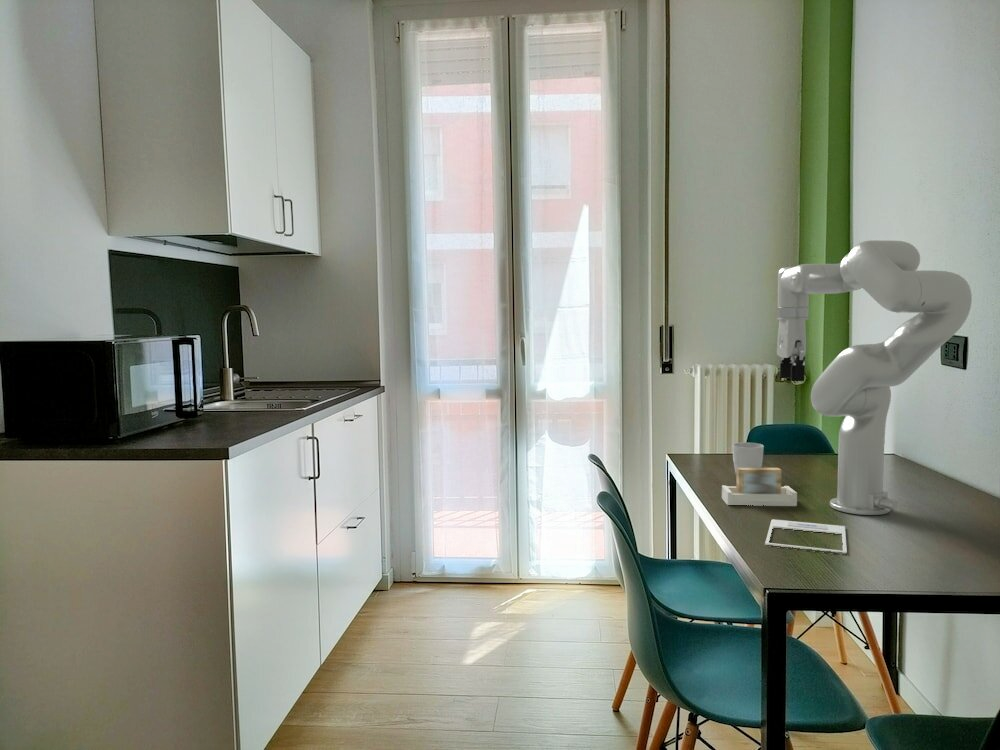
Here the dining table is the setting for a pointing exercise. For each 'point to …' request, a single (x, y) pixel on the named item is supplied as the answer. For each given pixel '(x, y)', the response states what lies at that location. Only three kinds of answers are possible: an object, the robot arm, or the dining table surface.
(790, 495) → the white pegged tray
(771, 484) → the oak frame
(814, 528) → the photo frame
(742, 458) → the cup
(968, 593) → the dining table surface
